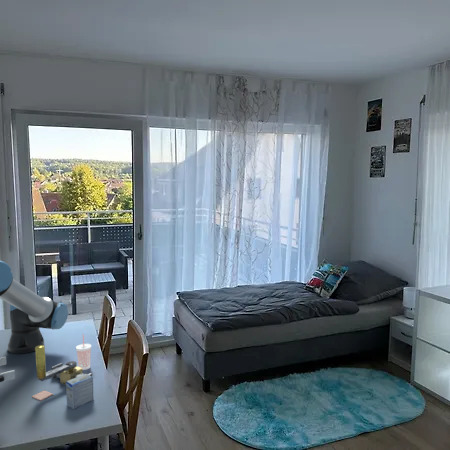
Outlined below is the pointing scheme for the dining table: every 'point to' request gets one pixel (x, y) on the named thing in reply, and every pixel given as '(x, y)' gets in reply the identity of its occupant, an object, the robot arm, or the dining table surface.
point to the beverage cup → (84, 355)
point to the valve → (68, 373)
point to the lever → (42, 366)
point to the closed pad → (42, 395)
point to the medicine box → (79, 390)
